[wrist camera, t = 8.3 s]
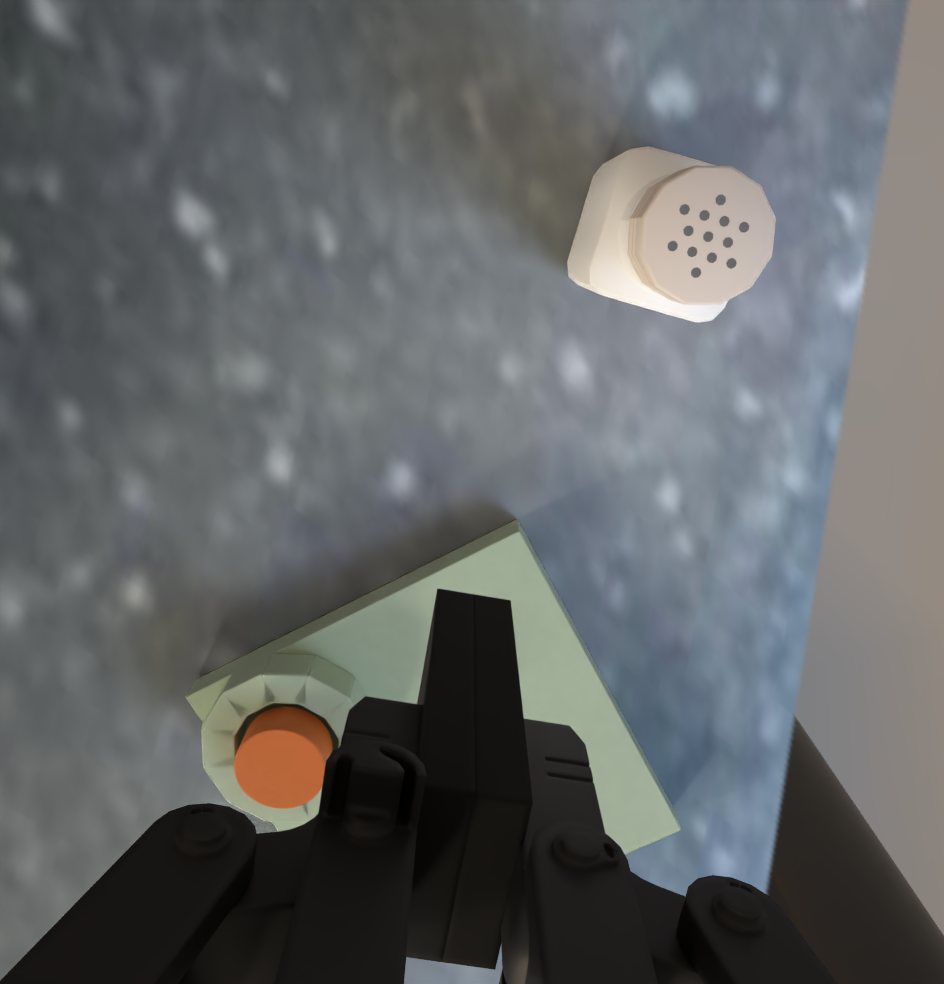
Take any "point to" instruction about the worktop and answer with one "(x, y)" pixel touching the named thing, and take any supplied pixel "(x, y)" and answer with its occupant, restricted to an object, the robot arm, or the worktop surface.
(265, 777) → the button
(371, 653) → the scale
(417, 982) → the worktop surface
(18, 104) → the worktop surface
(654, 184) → the pepper shaker
